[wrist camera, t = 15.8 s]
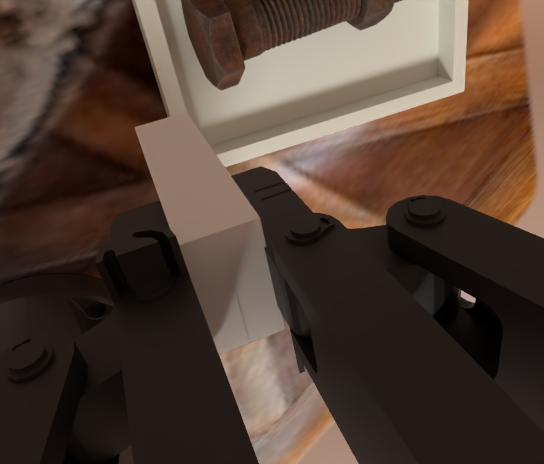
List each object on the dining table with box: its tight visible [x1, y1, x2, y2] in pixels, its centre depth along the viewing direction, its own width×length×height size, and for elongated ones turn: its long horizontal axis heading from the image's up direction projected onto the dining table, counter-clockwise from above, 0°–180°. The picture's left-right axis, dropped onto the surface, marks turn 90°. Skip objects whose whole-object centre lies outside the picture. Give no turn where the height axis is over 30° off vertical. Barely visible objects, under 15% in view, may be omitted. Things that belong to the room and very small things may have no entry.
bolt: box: [181, 0, 402, 91], centre depth 29 cm, size 6×5×15 cm
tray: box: [132, 0, 468, 167], centre depth 30 cm, size 16×21×3 cm
